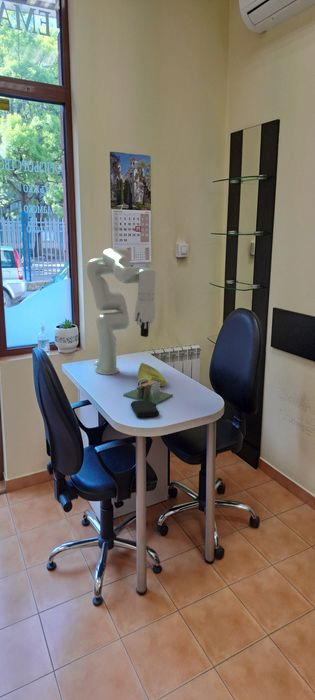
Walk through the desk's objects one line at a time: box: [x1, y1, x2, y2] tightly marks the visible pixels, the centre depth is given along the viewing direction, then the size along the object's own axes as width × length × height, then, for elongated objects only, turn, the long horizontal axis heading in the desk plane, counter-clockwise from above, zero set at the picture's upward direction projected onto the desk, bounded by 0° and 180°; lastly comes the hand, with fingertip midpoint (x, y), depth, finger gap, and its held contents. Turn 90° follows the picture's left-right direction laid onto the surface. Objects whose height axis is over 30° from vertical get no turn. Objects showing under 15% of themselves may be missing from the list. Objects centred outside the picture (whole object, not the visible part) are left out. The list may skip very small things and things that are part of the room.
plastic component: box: [137, 362, 168, 387], centre depth 225 cm, size 20×7×10 cm
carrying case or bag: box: [130, 400, 160, 419], centre depth 186 cm, size 11×3×15 cm
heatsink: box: [122, 379, 174, 406], centre depth 204 cm, size 18×15×7 cm
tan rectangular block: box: [140, 380, 156, 396], centre depth 203 cm, size 2×9×4 cm, turn 146°
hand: (144, 336), depth 206 cm, fingers closed
